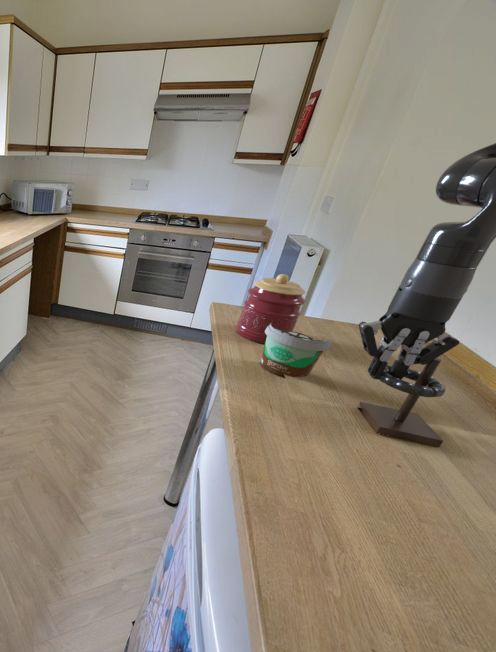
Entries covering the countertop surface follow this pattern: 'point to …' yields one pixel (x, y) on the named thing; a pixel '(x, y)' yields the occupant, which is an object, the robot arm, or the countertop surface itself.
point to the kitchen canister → (270, 307)
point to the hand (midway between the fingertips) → (382, 378)
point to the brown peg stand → (404, 415)
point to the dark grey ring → (431, 390)
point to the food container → (291, 352)
